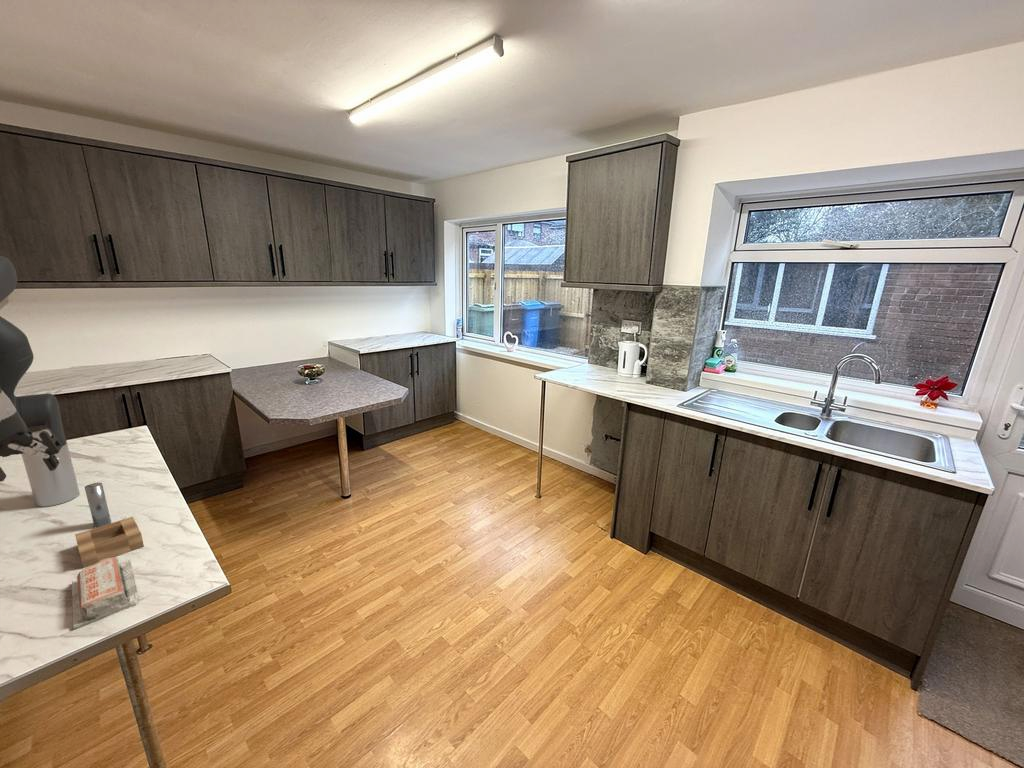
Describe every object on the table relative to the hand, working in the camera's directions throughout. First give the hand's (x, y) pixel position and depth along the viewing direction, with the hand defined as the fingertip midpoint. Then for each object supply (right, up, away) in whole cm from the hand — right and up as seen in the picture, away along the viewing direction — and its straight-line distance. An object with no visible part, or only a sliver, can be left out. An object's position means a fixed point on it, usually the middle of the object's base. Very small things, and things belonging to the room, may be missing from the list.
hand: (28, 473), depth 94 cm
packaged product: (+21, -26, -4) cm, 34 cm away
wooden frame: (+8, -21, +11) cm, 25 cm away
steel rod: (-3, -19, +20) cm, 28 cm away
